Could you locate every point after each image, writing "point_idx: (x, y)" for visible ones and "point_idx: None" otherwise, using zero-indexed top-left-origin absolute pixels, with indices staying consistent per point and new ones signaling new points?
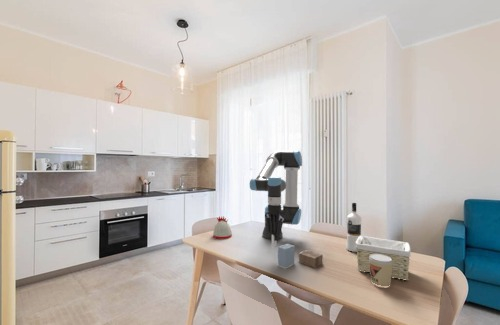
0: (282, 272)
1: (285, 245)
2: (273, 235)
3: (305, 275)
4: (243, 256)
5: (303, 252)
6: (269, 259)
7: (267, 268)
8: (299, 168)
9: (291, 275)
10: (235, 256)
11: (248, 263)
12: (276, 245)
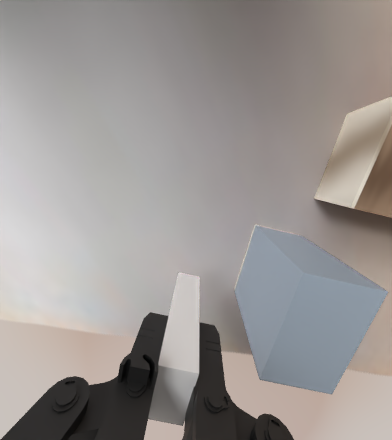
0: None
1: (305, 325)
2: (180, 420)
3: None
4: (43, 287)
5: (382, 174)
6: (166, 251)
7: None
8: None
9: None
10: (16, 305)
11: (115, 334)
12: (199, 281)
